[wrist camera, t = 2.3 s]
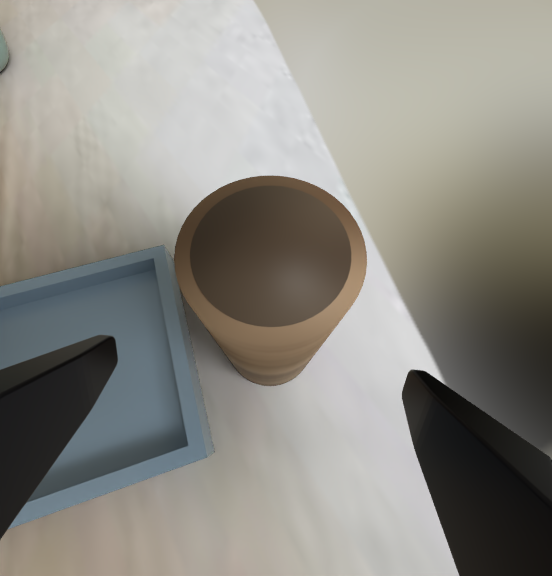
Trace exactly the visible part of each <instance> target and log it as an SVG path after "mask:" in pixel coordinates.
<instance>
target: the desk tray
mask: <svg viewBox="0 0 552 576" xmlns="http://www.w3.org/2000/svg"><path fill="white" fill-rule="evenodd" d="M97 335H110V336H113V337H114V338H115V340H116V347H117V354H118V363H117V366H116V368H115V369H114V371H113V373H112V375H111V377H110V378H109V380H108V382H107V384H106V385H105V387H104V389H103V391H102V393H101V394H100V396H99V398H98V400H97V401H96V403H95V405H94V406H93V408H92V410H91V411H90V413H89V414H88V416H87V417H86V419H85V420H84V421H83V423H82V424H81V426H80V427H79V429H78V430H77V431H76V433H75V434H74V436H73V437H72V439H71V440H70V441H69V443H68V444H67V446H66V447H65V448H64V450H63V451H62V453H61V454H60V456H59V457H58V458H57V460H56V461H55V463H54V464H53V465H52V467H51V468H50V470H49V471H48V473H47V474H46V475H45V477H44V478H43V480H42V481H41V483H40V484H39V485H38V487H37V488H36V490H35V491H34V492H33V494H32V495H31V497H30V498H29V500H28V501H27V502H26V504H25V505H24V507H23V508H22V510H21V511H20V512H19V514H18V515H17V517H16V518H15V519H14V521H13V522H12V524H11V525H10V527H9V528H8V529H10V528H12V527H15V526H18V525H21V524H24V523H26V522H29V521H32V520H35V519H37V518H40V517H43V516H46V515H48V514H51V513H54V512H57V511H60V510H62V509H65V508H68V507H71V506H73V505H76V504H79V503H82V502H85V501H87V500H90V499H93V498H96V497H98V496H101V495H104V494H107V493H110V492H112V491H115V490H118V489H121V488H123V487H126V486H129V485H132V484H134V483H137V482H140V481H143V480H146V479H148V478H151V477H154V476H157V475H159V474H162V473H165V472H168V471H171V470H173V469H176V468H179V467H182V466H184V465H187V464H190V463H193V462H196V461H198V460H201V459H204V458H207V457H208V456H210V455H211V454H213V453H214V452H215V451H214V446H213V442H212V437H211V433H210V428H209V423H208V419H207V414H206V409H205V405H204V400H203V395H202V391H201V386H200V381H199V377H198V372H197V367H196V363H195V358H194V353H193V349H192V344H191V339H190V335H189V330H188V325H187V321H186V316H185V311H184V307H183V302H182V297H181V293H180V288H179V284H178V281H177V277H176V272H175V265H174V260H173V259H172V257H171V256H170V254H169V252H168V251H167V249H166V248H165V246H164V245H161V246H157V247H153V248H149V249H145V250H141V251H138V252H134V253H130V254H126V255H122V256H118V257H114V258H110V259H106V260H102V261H98V262H94V263H90V264H86V265H82V266H78V267H75V268H71V269H67V270H63V271H59V272H55V273H51V274H47V275H43V276H39V277H35V278H31V279H27V280H23V281H19V282H15V283H12V284H8V285H4V286H0V370H1V369H3V368H6V367H9V366H12V365H15V364H18V363H20V362H23V361H26V360H29V359H32V358H35V357H37V356H40V355H43V354H46V353H49V352H51V351H54V350H57V349H60V348H63V347H66V346H68V345H71V344H74V343H77V342H80V341H82V340H85V339H88V338H91V337H94V336H97Z"/></svg>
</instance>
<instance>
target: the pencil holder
mask: <svg viewBox="0 0 552 576" xmlns="http://www.w3.org/2000/svg"><path fill="white" fill-rule="evenodd" d="M174 263H175V272H176V277H177V281H178V284H179V287H180V289H181V292H182V294H183V295H184V297H185V299H186V301H187V303H188V304H189V305H190V307H191V308H192V309H193V311H194V312H195V313H196V315H197V316H198V318H199V319H200V320H201V322H202V323H203V324H204V326H205V327H206V328H207V330H208V331H209V333H210V334H211V335H212V337H213V338H214V339H215V341H216V342H217V343H218V345H219V346H220V348H221V349H222V350H223V352H224V353H225V354H226V356H227V357H228V358H229V360H230V361H231V363H232V364H233V365H234V367H235V368H236V369H237V371H238V372H239V373H240V374H241V375H242V376H243V377H245V378H246V379H247V380H249V381H251V382H253V383H256V384H259V385H264V386H276V385H281V384H284V383H286V382H288V381H290V380H292V379H294V378H295V377H296V376H297V375H299V374H300V373H301V371H302V370H303V369H304V368H305V366H306V365H307V364H308V363H309V361H310V360H311V359H312V357H313V356H314V355H315V353H316V352H317V351H318V349H319V348H320V347H321V346H322V344H323V343H324V342H325V340H326V339H327V338H328V336H329V335H330V334H331V332H332V331H333V330H334V329H335V327H336V326H337V325H338V323H339V322H340V321H341V319H342V318H343V317H344V315H345V314H346V313H347V312H348V310H349V309H350V308H351V306H352V305H353V303H354V302H355V300H356V298H357V297H358V295H359V293H360V290H361V288H362V286H363V282H364V278H365V275H366V266H367V254H366V247H365V242H364V239H363V236H362V233H361V230H360V228H359V226H358V224H357V222H356V221H355V219H354V218H353V216H352V215H351V213H350V212H349V211H348V210H347V209H346V208H345V206H344V205H343V204H342V203H340V202H339V201H338V200H337V199H336V198H335V197H333V196H332V195H331V194H329V193H328V192H326V191H325V190H323V189H321V188H319V187H317V186H315V185H313V184H310V183H308V182H305V181H302V180H298V179H295V178H289V177H283V176H258V177H250V178H246V179H242V180H238V181H235V182H232V183H230V184H227V185H225V186H223V187H221V188H219V189H218V190H216V191H214V192H213V193H211V194H210V195H208V196H207V197H206V198H205V199H203V200H202V201H201V202H200V203H199V204H198V205H197V206H196V207H195V208H194V209H193V210H192V212H191V213H190V214H189V216H188V217H187V219H186V220H185V222H184V224H183V226H182V228H181V230H180V233H179V235H178V238H177V242H176V246H175V255H174Z"/></svg>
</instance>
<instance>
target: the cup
mask: <svg viewBox="0 0 552 576" xmlns="http://www.w3.org/2000/svg"><path fill="white" fill-rule="evenodd" d="M8 59H9V51H8V45H7V42H6V39H5V37H4V35H3V33H2V31H1V28H0V72H1V71H2V70H3V69H4V68H5V66H6V65H7V62H8Z"/></svg>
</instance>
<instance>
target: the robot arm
mask: <svg viewBox="0 0 552 576" xmlns="http://www.w3.org/2000/svg"><path fill="white" fill-rule="evenodd" d="M117 363H118V354H117V347H116V340H115V338H114V337H113V336H110V335H97V336H94V337H91V338H88V339H85V340H82V341H80V342H77V343H74V344H71V345H68V346H66V347H63V348H60V349H57V350H54V351H51V352H49V353H46V354H43V355H40V356H37V357H35V358H32V359H29V360H26V361H23V362H20V363H18V364H15V365H12V366H9V367H6V368H3V369H1V370H0V539H1V538H2V536H3V535H4V534H5V532H6V531H7V529H8V528H9V527H10V525H11V524H12V522H13V521H14V519H15V518H16V517H17V515H18V514H19V512H20V511H21V510H22V508H23V507H24V505H25V504H26V502H27V501H28V500H29V498H30V497H31V495H32V494H33V492H34V491H35V490H36V488H37V487H38V485H39V484H40V483H41V481H42V480H43V478H44V477H45V475H46V474H47V473H48V471H49V470H50V468H51V467H52V465H53V464H54V463H55V461H56V460H57V458H58V457H59V456H60V454H61V453H62V451H63V450H64V448H65V447H66V446H67V444H68V443H69V441H70V440H71V439H72V437H73V436H74V434H75V433H76V431H77V430H78V429H79V427H80V426H81V424H82V423H83V421H84V420H85V419H86V417H87V416H88V414H89V413H90V411H91V410H92V408H93V406H94V405H95V403H96V401H97V400H98V398H99V396H100V394H101V393H102V391H103V389H104V387H105V385H106V384H107V382H108V380H109V378H110V377H111V375H112V373H113V371H114V369H115V368H116V366H117ZM402 400H403V404H404V409H405V413H406V417H407V421H408V425H409V429H410V434H411V438H412V442H413V445H414V449H415V452H416V455H417V458H418V461H419V464H420V466H421V469H422V472H423V475H424V478H425V480H426V483H427V486H428V489H429V492H430V494H431V497H432V500H433V503H434V506H435V509H436V511H437V514H438V517H439V520H440V523H441V525H442V528H443V531H444V534H445V537H446V539H447V542H448V545H449V548H450V551H451V554H452V556H453V559H454V562H455V565H456V568H457V570H458V573H459V576H552V460H551V458H550V457H549V456H548V455H546V454H545V453H543V452H542V451H540V450H539V449H538V448H536V447H535V446H533V445H532V444H530V443H529V442H527V441H526V440H524V439H523V438H521V437H520V436H519V435H517V434H516V433H514V432H513V431H511V430H510V429H508V428H507V427H506V426H504V425H503V424H501V423H500V422H498V421H497V420H495V419H494V418H492V417H491V416H490V415H488V414H487V413H485V412H484V411H482V410H481V409H479V408H478V407H476V406H475V405H473V404H472V403H471V402H469V401H467V400H466V399H465V398H463V397H462V396H460V395H459V394H458V393H456V392H455V391H453V390H452V389H450V388H449V387H447V386H446V385H444V384H443V383H442V382H440V381H439V380H437V379H436V378H434V377H433V376H431V375H430V374H428V373H427V372H425V371H421V370H410V371H409V372H408V375H407V378H406V381H405V384H404V387H403V391H402Z"/></svg>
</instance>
